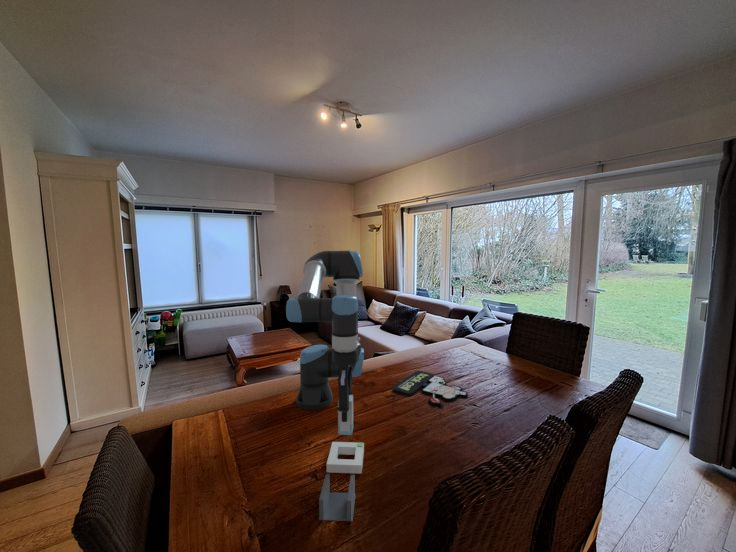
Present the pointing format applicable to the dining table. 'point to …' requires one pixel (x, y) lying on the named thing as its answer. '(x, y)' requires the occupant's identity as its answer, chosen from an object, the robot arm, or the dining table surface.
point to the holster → (337, 502)
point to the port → (345, 464)
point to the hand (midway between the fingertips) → (345, 425)
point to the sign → (429, 388)
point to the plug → (350, 418)
